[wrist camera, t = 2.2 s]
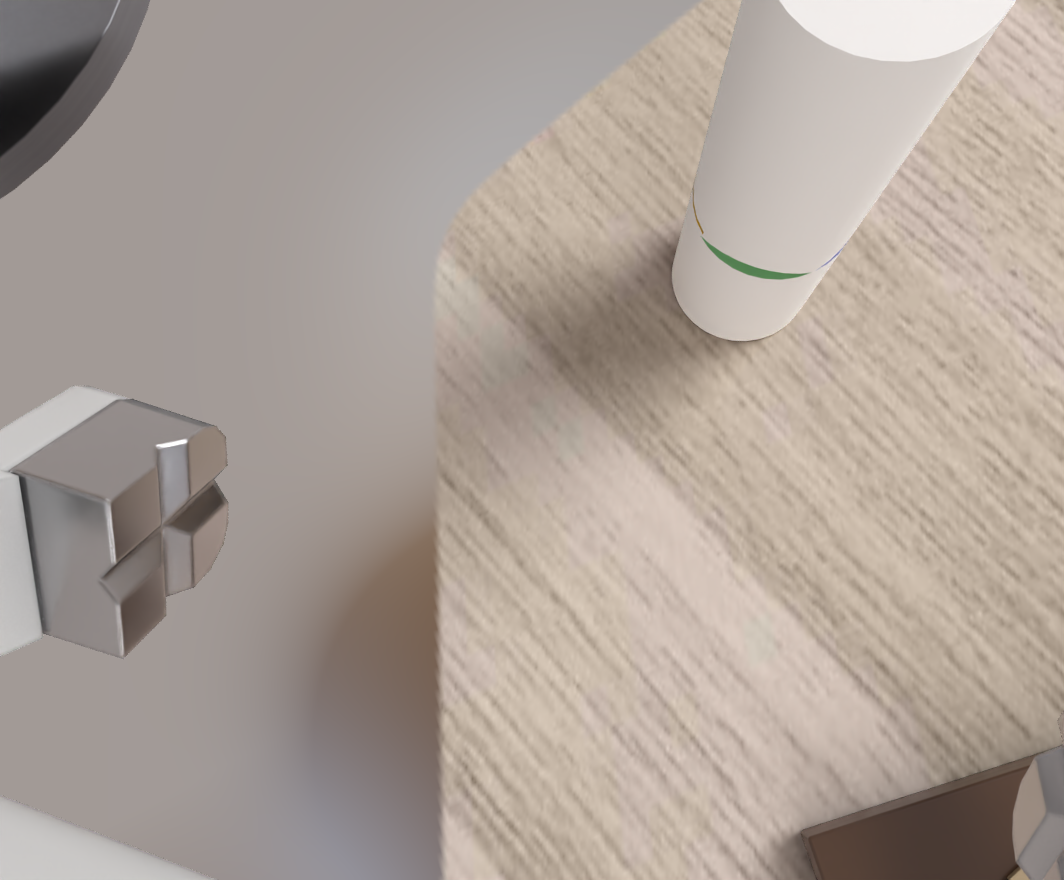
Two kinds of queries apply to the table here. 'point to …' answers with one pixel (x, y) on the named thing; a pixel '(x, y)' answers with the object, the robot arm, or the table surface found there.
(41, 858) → the robot arm
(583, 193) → the table surface
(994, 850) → the board
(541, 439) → the table surface
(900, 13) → the tube
